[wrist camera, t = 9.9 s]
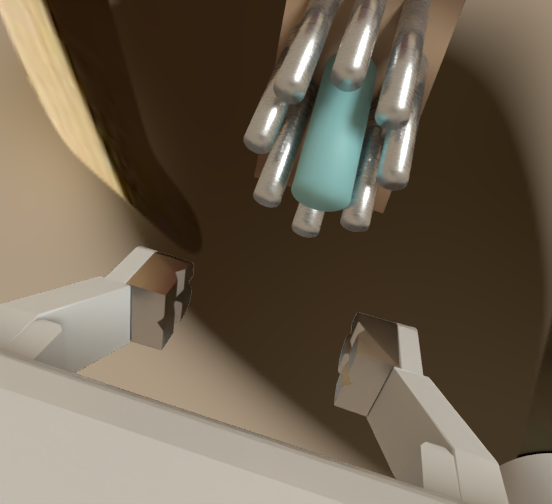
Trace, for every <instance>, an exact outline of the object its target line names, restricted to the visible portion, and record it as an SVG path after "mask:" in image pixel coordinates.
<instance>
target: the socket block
mask: <svg viewBox="0 0 552 504" xmlns="http://www.w3.org/2000/svg"><path fill="white" fill-rule="evenodd" d="M355 1H356V0H341V1H340V4H339V6H338V9H337V12H336V14H335V17H334V20H333V22H332V25H331V27H330V30H329V33H328V35H327V38H326V41H325V43H324V46H323V49H322V51H321V54H320V57H319V59H318V62H317V65H316V67H315V70H314V73H313V75H312V79H313V80H315V81H316V83H317V85H318V89H319V87H320V83H321V79H322V76H323V72H324V68H325V65H326V62H327V61H328V59H329V58H330V57H331V56H332V55H334V54H335V53H337V52H338V50H339V47H340V44H341V42H342V39H343V36H344V33H345V30H346V27H347V24H348V21H349V19H350V16H351V13H352V10H353V7H354V4H355ZM404 1H405V0H387V3H386V6H385V10H384V13H383V17H382V20H381V24H380V28H379V31H378V35H377V38H376V42H375V45H374V49H373V52H372V56H371V59H372V61H373V62H374V64H375V66H376V69H377V76H376V81H375V86H374V91H373V96H372V100H371V105H372V103H373V102H374V101H375V100H377V99H378V98H379V97H380V93H381V89H382V85H383V81H384V77H385V73H386V69H387V65H388V61H389V57H390V53H391V49H392V45H393V41H394V37H395V33H396V29H397V25H398V21H399V17H400V13H401V10H402V6H403V3H404ZM309 2H310V0H286V6H285V12H284V16H283V22H282V27H281V33H280V39H279V44H278V50H277V55H276V60H275V66H276V64H277V62H278V60H279V57H280V55H281V53H282V51H283V48H284V46H285V44H286V42H287V40H288V37H289V35H290V33H291V31H292V29H293V28H294V27H295V26H296V25H298V24H300V23H301V20H302V18H303V16H304V14H305V11H306V9H307V7H308V4H309ZM464 3H465V0H431V10H430V15H429V20H428V25H427V30H426V36H425V41H424V46H423V51H422V53H424V54H425V55H426V56H427V58H428V62H429V67H428V72H427V78H426V84H425V89H424V95H423V101H422V106H421V112H420V116H421V114H422V111H423V108H424V106H425V103H426V101H427V98H428V95H429V93H430V91H431V88H432V85H433V83H434V80H435V78H436V75H437V72H438V70H439V67H440V65H441V62H442V60H443V57H444V55H445V52H446V49H447V47H448V44H449V42H450V39H451V36H452V34H453V31H454V29H455V26H456V24H457V21H458V19H459V16H460V13H461V11H462V8H463V6H464ZM275 66H274V68H275ZM371 105H370V107H371ZM311 115H312V114H311ZM310 119H311V117H310ZM419 119H420V118H419ZM309 123H310V120H309ZM309 123H308V126H309ZM308 126H307V129H306V131H305V134H304V137H303V140H302V143H301V145H300V148H299V151H298V154H297V157H296V160H295V162H294V165H293V168H292V171H291V174H290V176H289V179H288V182H287V185H286V186H288V187H292V184H293V181H294V177H295V173H296V170H297V166H298V162H299V159H300V155H301V152H302V148H303V144H304V141H305V137H306V134H307V130H308ZM269 153H270V152H269ZM269 153H267V154H258V158H257V164H256V169H255V175H254V177H256V178H260V175H261V173H262V170H263V168H264V165H265V163H266V160H267V158H268V155H269ZM391 191H392V190H388V189H385V188H383V187H381V186H380V185H379V184H378V189H377V193H376V198H375V202H374V207H373V210H374V211H378V212H381V213H383V211H384V209H385V206H386V204H387V201H388V198H389V196H390V193H391Z"/></svg>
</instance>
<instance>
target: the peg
mask: <svg viewBox="0 0 552 504" xmlns="http://www.w3.org/2000/svg"><path fill="white" fill-rule="evenodd" d="M337 53H338V52H337ZM337 53H335V54H334V55H332V56H331V57H330V58H329V59H328V61H327V62H326V65H325V68H324V72H323V76H322V79H321V83H320V87H319V90H318V94H317V97H316V101H315V105H314V108H313V112H312V115H311V119H310V123H309V126H308V130H307V134H306V137H305V141H304V144H303V148H302V152H301V155H300V159H299V162H298V166H297V170H296V173H295V177H294V181H293V184H292V188H291V192H292V194H293V196H294V198H295V199H296V200H297V201H298V202H300V203H301V204H303V205H305V206H307V207H309V208H312V209H315V210H319V211H328V212H330V211H338V210H342V209H344V208H346V207H347V206H348V205H349V204H350V201H351V197H352V192H353V187H354V182H355V177H356V173H357V168H358V163H359V158H360V153H361V149H362V144H363V139H364V134H365V129H366V124H367V120H368V115H369V110H370V105H371V100H372V96H373V91H374V86H375V81H376V76H377V69H376V66H375V64H374V62H373V61H372V59H370V63H369V66H368V70H367V73H366V77H365V80H364V83H363V85H362V86H361V87H360V88H359V89H358V90H356V91H353V92H344V91H341V90H339V89H337V88H336V87H335V86H334V85H333V83H332V81H331V78H330V74H331V70H332V68H333V65H334V62H335V59H336V56H337Z"/></svg>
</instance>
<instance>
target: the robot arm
mask: <svg viewBox="0 0 552 504" xmlns="http://www.w3.org/2000/svg"><path fill="white" fill-rule="evenodd" d="M193 273H194V264H193V262H190V261H187V260H184V259H180V258H178V257H175V256H171V255H168V254H165V253H162V252H159V251H158V252H157V251H155V250H152V249H149V248H146V247H143V246H139V247H136V248H135V249H134V250H133V251H132V252H131V253H130V254H129V255H128V256H127V257H126V258H125V259H123V260H122V261H121V263H119V264H118V265H117V266H116V267H115V269H113V270H112V271H111V272H110V273H109V274H108V275H107V276H106V277H105V278H104V277H101V276H98V277H94V278H91V279H87V280H84V281H80V282H77V283H73V284H70V285H66V286H62V287H59V288H55V289H52V290H48V291H45V292H41V293H38V294H34V295H30V296H27V297H23V298H20V299H17V300H13V301H9V302H6V303H2V304H0V504H552V453H544V454H535V455H529V456H524V457H520V458H517V459H514V460H511V461H509V462H507V463H504V464H502V465H500V466H499V464H498V463H497V461H496V460H495V459H494V458H493V456H492V455H491V454H490V453H489V452H488V451H487V449H486V448H485V446H484V445H483V444H482V443H481V441H480V440H479V439H478V438H477V436H476V435H475V434H474V433H473V432H472V430H471V429H470V428H469V427H468V425H467V424H466V423H465V422H464V420H463V419H462V418H461V417H460V415H459V414H458V413H457V412H456V410H455V409H454V408H453V407H452V406H451V404H450V403H449V402H448V401H447V399H446V398H445V397H444V396H443V394H442V393H441V392H440V391H439V389H438V388H437V387H436V386H435V385H434V383H433V382H432V381H431V379H430V378H429V377H426V376H423V371H422V363H421V355H420V348H419V340H418V332H417V330H416V328H414V327H410V326H406V325H403V324H399V323H393V322H389V321H386V320H383V319H379V318H376V317H372V316H369V315H366V314H363V313H359V312H357V314H356V316H355V318H354V320H353V322H352V328H351V334H350V335H348V336H347V337H346V340H345V343H344V345H343V348H342V352H341V355H340V360H339V367H338V371H339V373H340V377H339V379H338V381H337V384H336V393H335V402H334V405H335V406H338V407H341V408H344V409H347V410H349V411H353V412H355V413H358V414H361V415H364V416H367V420H368V421H369V424H370V426H371V428H372V430H373V432H374V434H375V436H376V439H377V441H378V443H379V445H380V447H381V449H382V451H383V453H384V455H385V457H386V460H387V462H388V464H389V466H390V468H391V470H392V472H393V474H394V476H395V479H394V478H390V477H388V476H384V475H381V474H378V473H375V472H372V471H369V470H366V469H363V468H360V467H357V466H354V465H351V464H348V463H345V462H342V461H339V460H336V459H333V458H330V457H327V456H324V455H321V454H317V453H315V452H312V451H309V450H306V449H303V448H300V447H297V446H293V445H291V444H288V443H284V442H281V441H279V440H275V439H272V438H269V437H266V436H263V435H260V434H257V433H254V432H251V431H248V430H245V429H242V428H239V427H236V426H233V425H230V424H227V423H224V422H221V421H218V420H215V419H212V418H209V417H206V416H202V415H199V414H196V413H193V412H190V411H187V410H184V409H181V408H178V407H175V406H172V405H169V404H166V403H163V402H160V401H157V400H154V399H151V398H148V397H145V396H142V395H139V394H136V393H132V392H130V391H126V390H124V389H120V388H117V387H114V386H111V385H108V384H105V383H102V382H99V381H96V380H93V379H90V378H87V377H84V376H81V375H78V374H75V372H77V371H79V370H81V369H83V368H85V367H86V366H88V365H90V364H92V363H94V362H96V361H98V360H99V359H101V358H103V357H105V356H107V355H109V354H110V353H112V352H114V351H116V350H118V349H120V348H122V347H123V346H125V345H127V344H129V343H130V341H132V342H135V343H139V344H142V345H146V346H149V347H152V348H156V349H159V350H162V349H163V347H164V346H165V344H166V343H167V341H168V340H169V338H170V337H171V335H172V334H173V329H174V324H175V323H178V322H180V321H181V319H182V318H183V316H184V315H185V312H186V310H187V308H188V305H189V301H190V297H191V290H192V288H191V286H190V285H189V281H190V280H191V278H192V277H193Z"/></svg>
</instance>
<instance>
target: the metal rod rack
mask: <svg viewBox="0 0 552 504" xmlns="http://www.w3.org/2000/svg"><path fill="white" fill-rule="evenodd" d="M340 1H341V0H310V2H309V4H308V7H307V9H306V11H305V14H304V16H303V18H302V20H301V23H300V24H298V25H296V26H295V27H294V28H293V29H292V31H291V33H290V35H289V37H288V40H287V42H286V44H285V46H284V48H283V51H282V53H281V55H280V57H279V60H278V62H277V64H276V66H275V68H274V71H273V73H272V75H271V78H270V80H269V82H268V84H267V86H266V88H265V91H264V93H263V95H262V97H261V100H260V102H259V104H258V106H257V108H256V111H255V113H254V116H253V118H252V120H251V122H250V124H249V126H248V129H247V131H246V133H245V136H244V139H243V141H244V144H245V145H246V147H247V148H248V149H249V150H251V151H252V152H255V153H258V154H267V153H269V152H270V153H269V155H268V158H267V160H266V163H265V165H264V168H263V170H262V173H261V175H260V178H259V180H258V183H257V186H256V188H255V190H254V193H253V197H254V199H255V200H256V201H257V202H258V203H260V204H261V205H263V206H266V207H277V206H278V205H279V204H280V202H281V199H282V196H283V193H284V190H285V188H286V185H287V182H288V179H289V176H290V174H291V171H292V168H293V165H294V162H295V160H296V157H297V154H298V151H299V148H300V145H301V143H302V140H303V137H304V134H305V131H306V129H307V126H308V123H309V120H310V117H311V114H312V112H313V108H314V105H315V101H316V97H317V94H318V90H319V89H318V85H317V83H316V81H315V80H313V79H312V75H313V73H314V70H315V67H316V65H317V62H318V59H319V57H320V54H321V51H322V49H323V46H324V43H325V41H326V38H327V35H328V33H329V30H330V27H331V25H332V22H333V20H334V17H335V14H336V12H337V9H338V6H339V4H340ZM386 3H387V0H356V1H355V4H354V7H353V10H352V13H351V16H350V19H349V21H348V24H347V27H346V30H345V33H344V36H343V39H342V42H341V44H340V47H339V50H338V53H337V56H336V59H335V62H334V65H333V68H332V70H331V74H330V78H331V81H332V83H333V85H334V86H335V87H336V88H337V89H339V90H341V91H344V92H353V91H356V90H358V89H359V88H360V87H361V86H362V85H363V83H364V80H365V77H366V73H367V70H368V66H369V63H370V59H371V56H372V52H373V49H374V45H375V42H376V38H377V35H378V31H379V28H380V24H381V20H382V17H383V13H384V10H385V6H386ZM430 10H431V0H405V1H404V3H403V6H402V10H401V13H400V17H399V21H398V25H397V29H396V33H395V37H394V41H393V45H392V49H391V53H390V57H389V61H388V65H387V69H386V73H385V77H384V81H383V85H382V89H381V93H380V97H379V98H378V99H377V100H375V101H374V102H373V103H372V105H371V107H370V110H369V115H368V120H367V124H366V129H365V134H364V139H363V144H362V149H361V153H360V158H359V163H358V168H357V173H356V177H355V182H354V187H353V192H352V197H351V201H350V204H349V205H348V206H347V207H346V208H344V209H343V213H342V216H341V220H340V222H341V225H342V226H343V227H344V228H346V229H348V230H350V231H354V232H362V231H365V230H367V229H368V228H369V225H370V220H371V216H372V211H373V207H374V202H375V198H376V193H377V189H378V184H379V185H380V186H381V187H383V188H385V189H388V190H398V189H402V188H404V187H405V186H406V185H407V184H408V179H409V174H410V168H411V163H412V157H413V151H414V146H415V139H416V134H417V128H418V122H419V118H420V112H421V106H422V101H423V95H424V89H425V84H426V78H427V72H428V67H429V62H428V58H427V56H426V55H425V54H424V53H422V51H423V46H424V41H425V36H426V30H427V25H428V20H429V15H430ZM324 212H325V211H319V210H315V209H312V208H309V207H307V206H305V205H303V204H301V203H300V202H299V205H298V208H297V211H296V214H295V217H294V221H293V223H292V229H293V231H294V232H295V233H297V234H299V235H301V236H304V237H315V236H317V235H318V233H319V230H320V226H321V223H322V220H323V216H324Z"/></svg>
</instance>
